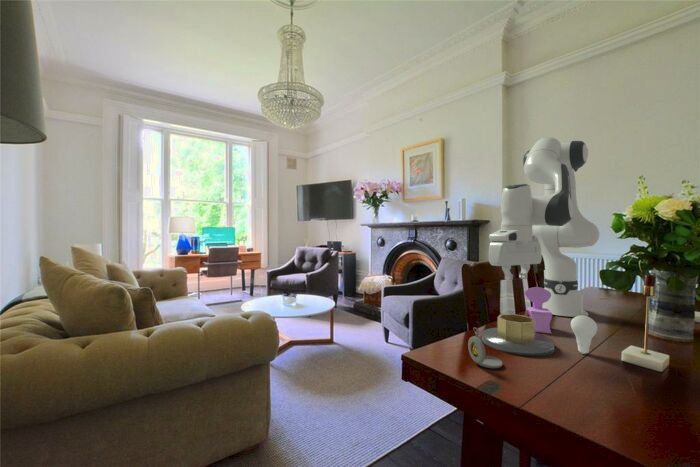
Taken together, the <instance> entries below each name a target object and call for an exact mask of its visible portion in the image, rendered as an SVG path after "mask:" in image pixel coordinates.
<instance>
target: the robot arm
mask: <svg viewBox="0 0 700 467" xmlns="http://www.w3.org/2000/svg"><path fill="white" fill-rule="evenodd" d="M588 157H589V149H588V147H587V145H586V142H584V141H582V140H571V141H567V142H566V141H565V142H564V141H563V142H560V141H559V139H557V138H555V137H550V136H548V137H543V138H539V139H538V140H537V141H536V142H535V143H534V145H533V146H532V147H531V148H530V149H528V150H527V151H526V152H525V154H524V155H523V158H522V165H523V171H524V175H525V176H526V177H527V179H529V180H530V181H532V182H533V183H536V184H539V185H544V190H543V191H544V194H543V195H536V196H535V195H533V196H532V190H531V189H532V188H531V185H530V184H527V183H521V184H520V183H518V184H512V185H511V184H510V185H507V186H505V187H503V188H502V193H501V200H500V214H501V223H500V229H498V230H497V231H494V232H492V233H490V234H489V236H488V239H489V242H490V243H489V246H488V262H489V264H490V265H491V266H494V267H495V266H496V267H501V270H502V272H503V274H504V280H506V281H513V280H514V274H512V272H511V269H512V266H520V268H521V270H520V272H519V273H518V275H519V276H518V278H519V279H522V280H525V279H528V273H529V271H530V270H531V265H538V264H541V262H542V260H543V262H544V274H545V275H544V278H543V286H544V289H546V290H548V291H549V292H550V293H551V297H550V299H549V300H548V301H547V302H545V303H543V305H542V308H547V309H548V310H549V311H551V312H552V316H553V315H555V316H560V317H570V318H571V317H572V318H575V317H576V316H580V315H583V316H587V317H589V313H588V312H587V311H586V310H584V309H583V307H584V306H583V295H582V293H580V292H579V291H578V289H579V283H578V282H579V281H578V280H577V263H576V261H575V260H574V259H573V258H571V257H569V256H568V255H565V254H564V253H562V252H561V250H560V248H577V249H579V248H587V247H593V246H595V244H597V242H598V241H599V239H600V231H599V230H600V229H599V228H598V227H597V225H595V223H593V222H591V221H590V220H589V219H587V218H586V217H585V216H584V215H583V214H582V213H581V212H580V209H579V207H578V201H577V183H576V177H575V173H576V172H577V171H578V170H579V169H580V168H582V167H583V166H584V165H585V164H586V162H587V160H588Z"/></svg>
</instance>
